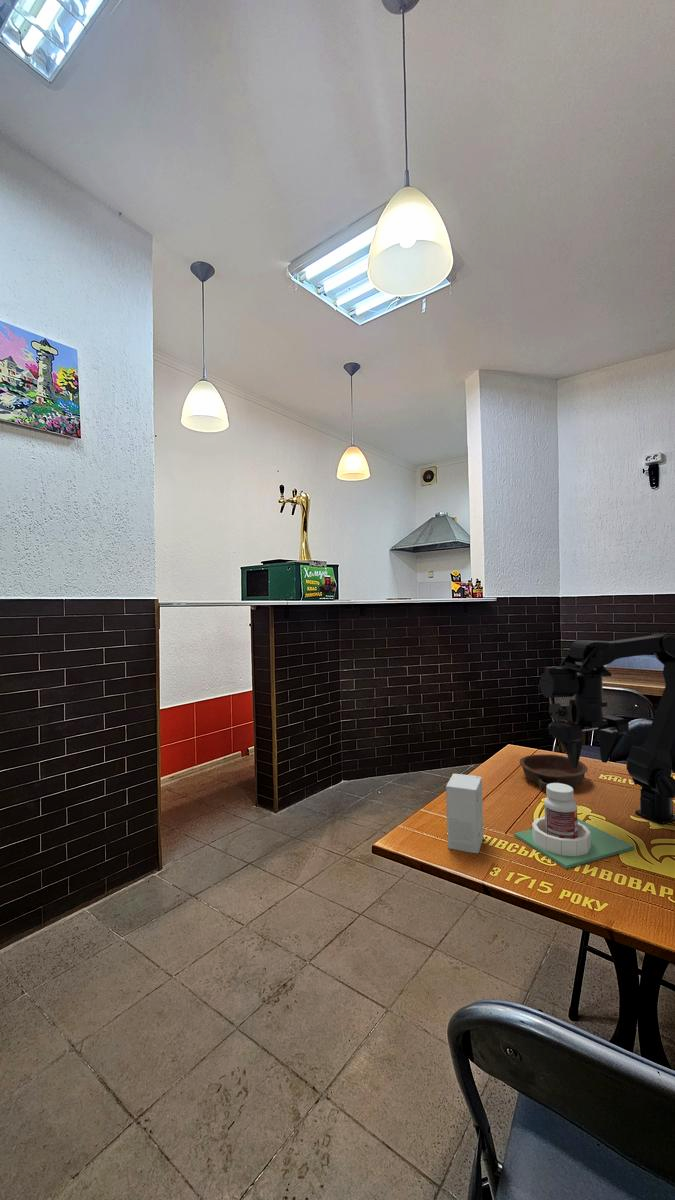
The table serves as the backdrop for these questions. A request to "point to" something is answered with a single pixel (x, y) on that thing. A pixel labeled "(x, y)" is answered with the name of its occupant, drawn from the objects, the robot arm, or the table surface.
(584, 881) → the table surface
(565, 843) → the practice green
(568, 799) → the pill bottle
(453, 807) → the small box
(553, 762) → the dish
